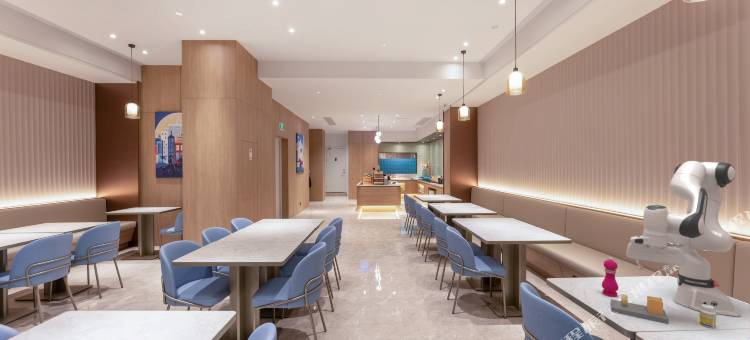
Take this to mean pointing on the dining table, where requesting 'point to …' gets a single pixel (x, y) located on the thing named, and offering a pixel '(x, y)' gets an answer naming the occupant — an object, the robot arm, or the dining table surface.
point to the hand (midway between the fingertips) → (653, 271)
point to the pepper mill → (610, 278)
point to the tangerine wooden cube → (654, 305)
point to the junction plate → (636, 310)
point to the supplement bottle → (707, 316)
